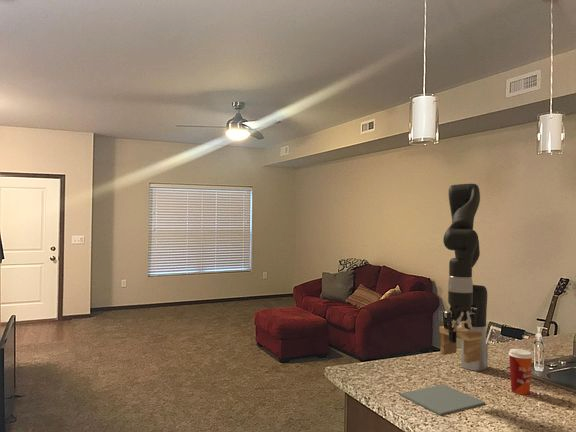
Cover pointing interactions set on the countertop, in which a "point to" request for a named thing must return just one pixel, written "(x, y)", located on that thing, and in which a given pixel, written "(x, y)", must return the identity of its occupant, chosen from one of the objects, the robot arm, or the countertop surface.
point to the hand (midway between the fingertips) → (459, 341)
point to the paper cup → (520, 370)
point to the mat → (442, 399)
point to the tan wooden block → (470, 343)
